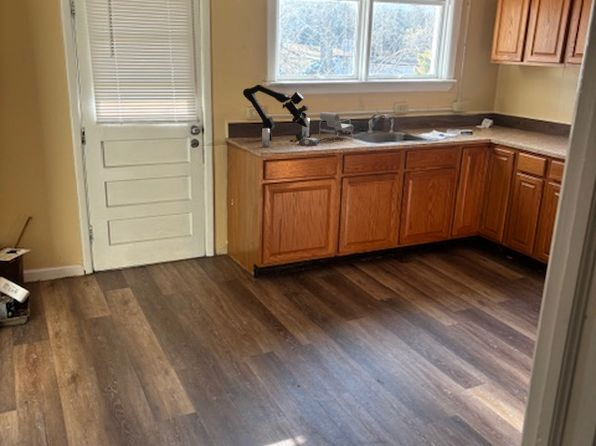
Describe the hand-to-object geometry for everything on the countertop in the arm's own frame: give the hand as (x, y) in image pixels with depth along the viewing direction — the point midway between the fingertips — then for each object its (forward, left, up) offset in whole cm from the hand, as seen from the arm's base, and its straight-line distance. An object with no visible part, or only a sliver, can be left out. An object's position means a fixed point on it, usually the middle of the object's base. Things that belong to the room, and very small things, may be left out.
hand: (307, 126), depth 391 cm
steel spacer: (-1, 0, -7) cm, 7 cm away
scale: (+2, -1, -12) cm, 12 cm away
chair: (+14, +29, -12) cm, 35 cm away
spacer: (-21, -26, -12) cm, 36 cm away
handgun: (-7, +18, -12) cm, 23 cm away
